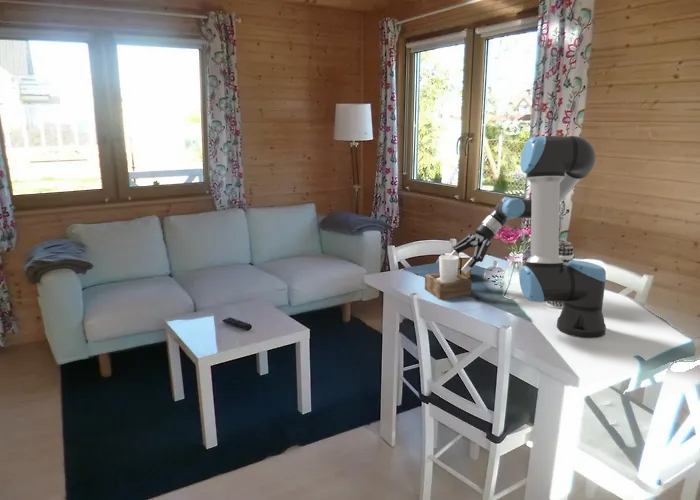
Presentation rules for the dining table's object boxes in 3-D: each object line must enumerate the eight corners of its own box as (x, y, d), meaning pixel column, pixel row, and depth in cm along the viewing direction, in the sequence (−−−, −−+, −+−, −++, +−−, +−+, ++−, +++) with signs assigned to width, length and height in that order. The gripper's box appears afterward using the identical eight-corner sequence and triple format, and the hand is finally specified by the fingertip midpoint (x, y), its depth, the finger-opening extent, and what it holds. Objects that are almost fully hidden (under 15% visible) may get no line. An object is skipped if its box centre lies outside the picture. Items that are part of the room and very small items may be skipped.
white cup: (457, 283, 209) (458, 259, 207) (438, 282, 211) (438, 259, 209) (457, 278, 217) (458, 255, 215) (438, 277, 218) (439, 254, 216)
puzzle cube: (441, 274, 242) (442, 253, 240) (462, 272, 244) (463, 252, 241) (449, 280, 232) (450, 258, 230) (470, 278, 234) (471, 257, 232)
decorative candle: (575, 306, 198) (582, 242, 192) (558, 310, 194) (564, 245, 188) (556, 299, 206) (561, 238, 200) (539, 303, 202) (544, 240, 196)
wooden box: (470, 295, 211) (471, 280, 209) (439, 299, 207) (440, 283, 205) (454, 285, 224) (454, 271, 222) (424, 289, 220) (425, 274, 218)
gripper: (511, 241, 205) (476, 281, 204) (476, 229, 228) (445, 265, 227) (500, 229, 202) (465, 269, 201) (466, 218, 225) (434, 255, 224)
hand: (454, 267), depth 214 cm, fingers open, 13 cm apart
